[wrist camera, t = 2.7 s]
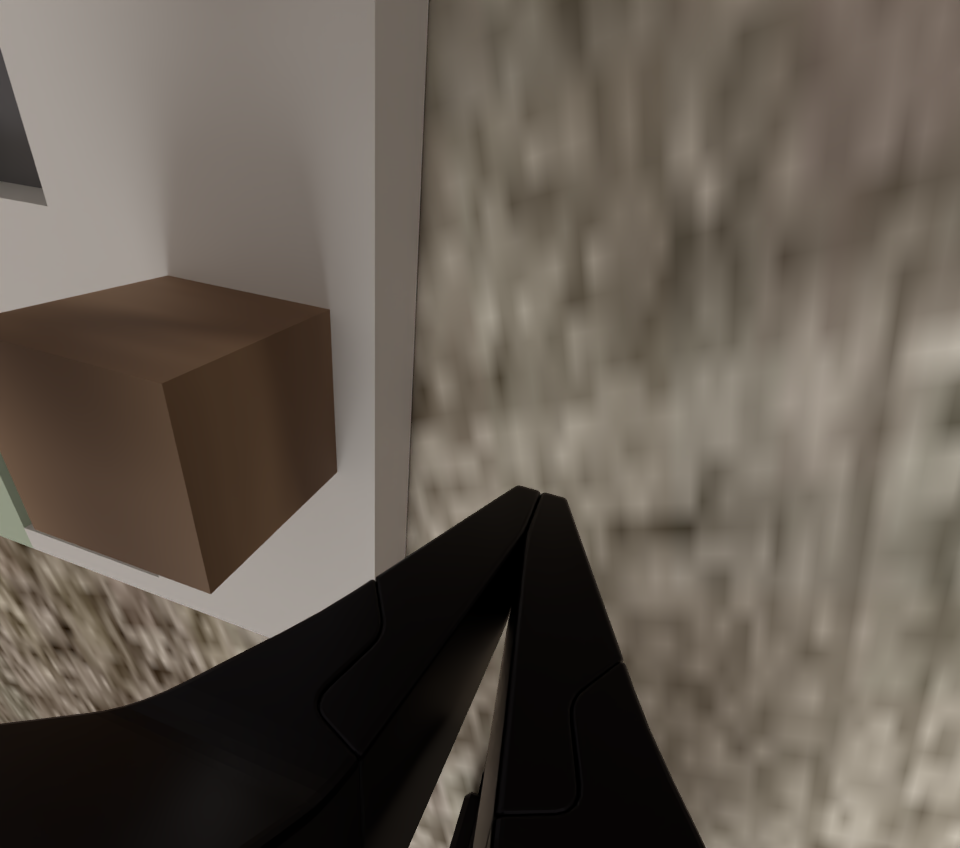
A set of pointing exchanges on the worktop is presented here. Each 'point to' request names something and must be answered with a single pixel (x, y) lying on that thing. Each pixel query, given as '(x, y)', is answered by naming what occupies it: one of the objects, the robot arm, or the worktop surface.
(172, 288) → the walnut block
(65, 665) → the worktop surface
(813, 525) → the worktop surface
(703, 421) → the worktop surface
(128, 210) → the trap deck
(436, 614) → the robot arm
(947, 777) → the worktop surface
